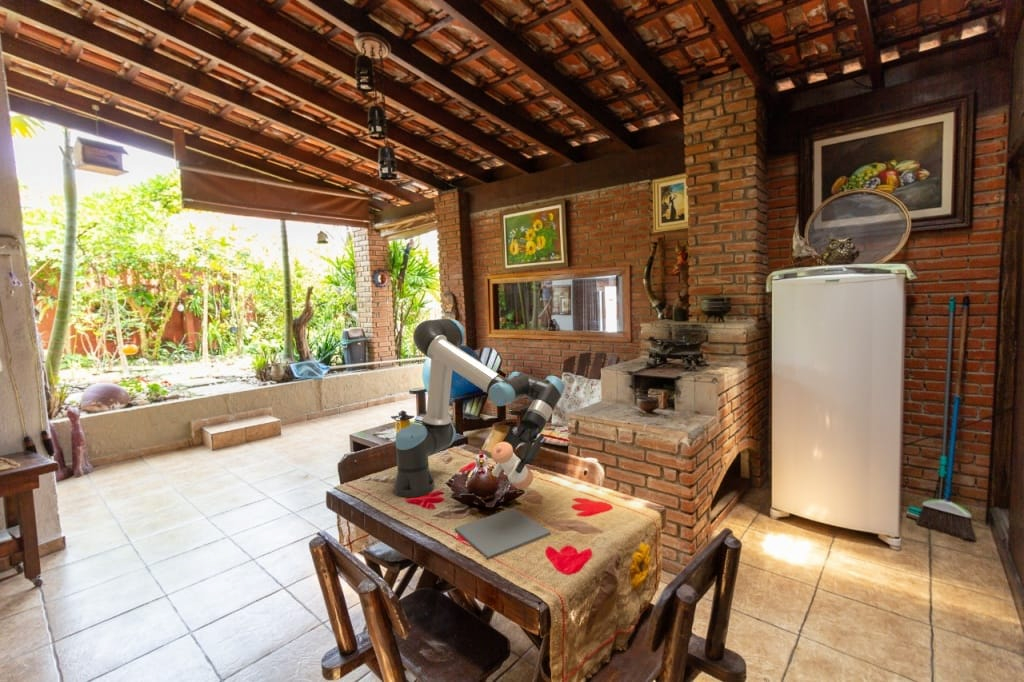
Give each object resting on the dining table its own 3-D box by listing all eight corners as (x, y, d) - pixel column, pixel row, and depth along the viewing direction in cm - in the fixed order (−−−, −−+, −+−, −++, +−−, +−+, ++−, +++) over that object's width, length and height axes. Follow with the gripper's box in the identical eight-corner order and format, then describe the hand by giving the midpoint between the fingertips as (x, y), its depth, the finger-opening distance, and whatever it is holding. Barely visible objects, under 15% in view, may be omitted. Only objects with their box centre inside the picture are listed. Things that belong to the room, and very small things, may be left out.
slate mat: (454, 530, 143) (454, 527, 142) (513, 510, 155) (513, 507, 155) (488, 559, 126) (487, 556, 126) (550, 534, 138) (550, 531, 138)
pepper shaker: (534, 486, 146) (509, 454, 135) (513, 492, 148) (487, 461, 136) (532, 466, 152) (508, 434, 140) (512, 472, 154) (487, 441, 142)
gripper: (564, 429, 149) (531, 492, 138) (519, 417, 161) (485, 475, 149) (556, 415, 144) (521, 480, 133) (510, 404, 156) (474, 463, 145)
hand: (502, 477), depth 141 cm, fingers closed on pepper shaker, 5 cm apart
